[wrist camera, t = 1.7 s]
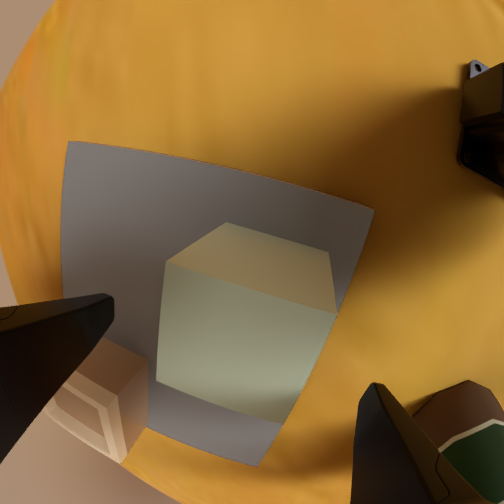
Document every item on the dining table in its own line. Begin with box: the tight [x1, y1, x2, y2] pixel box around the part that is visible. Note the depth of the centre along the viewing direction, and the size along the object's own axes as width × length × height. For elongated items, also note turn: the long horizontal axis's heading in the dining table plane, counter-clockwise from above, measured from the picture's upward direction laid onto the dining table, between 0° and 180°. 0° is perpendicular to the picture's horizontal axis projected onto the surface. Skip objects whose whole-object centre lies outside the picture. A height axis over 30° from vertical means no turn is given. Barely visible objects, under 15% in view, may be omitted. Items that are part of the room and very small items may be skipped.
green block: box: [156, 222, 337, 424], centre depth 11 cm, size 5×5×6 cm
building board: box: [43, 141, 375, 467], centre depth 15 cm, size 18×22×6 cm
